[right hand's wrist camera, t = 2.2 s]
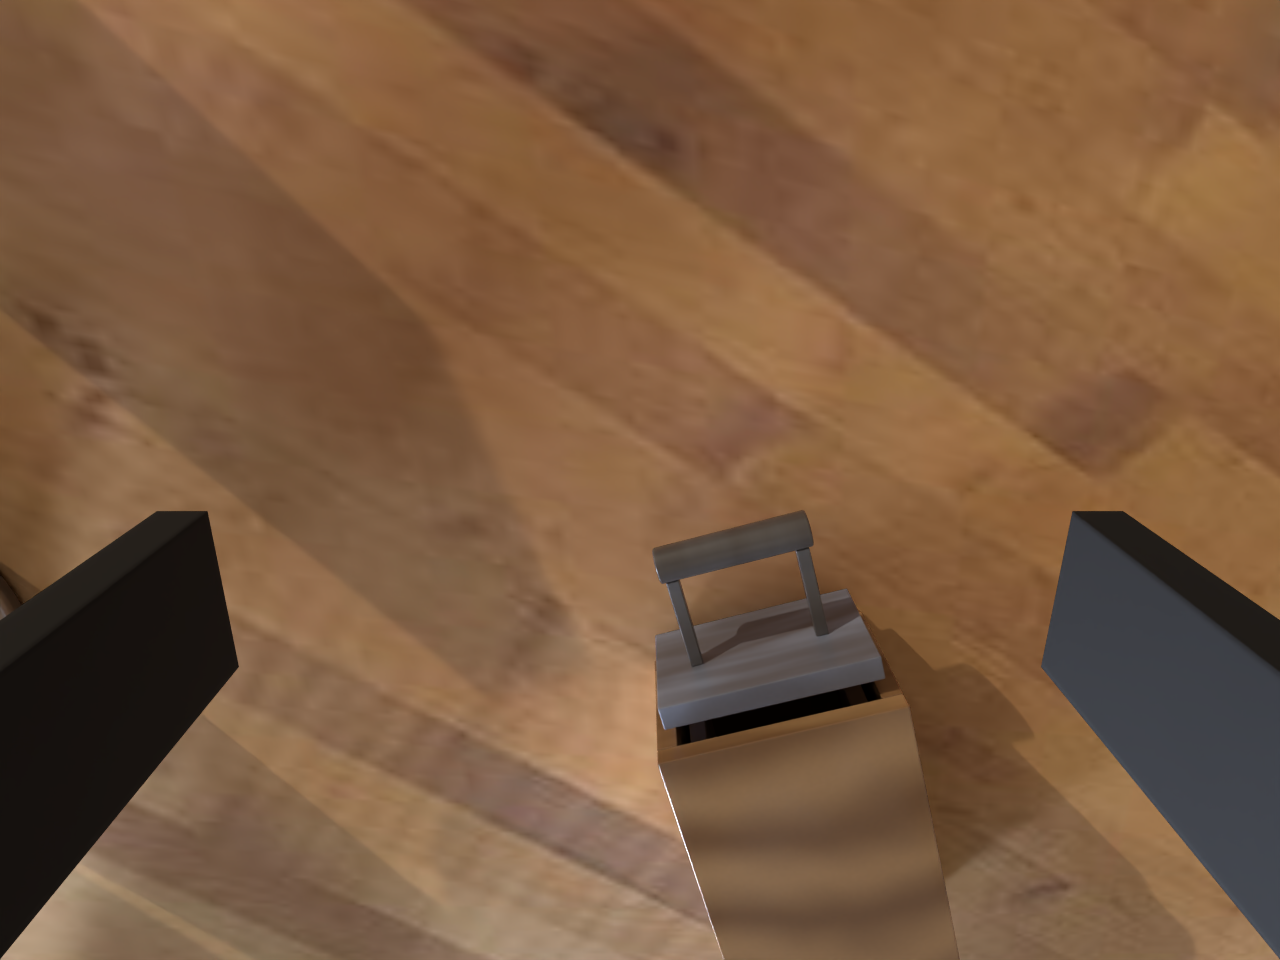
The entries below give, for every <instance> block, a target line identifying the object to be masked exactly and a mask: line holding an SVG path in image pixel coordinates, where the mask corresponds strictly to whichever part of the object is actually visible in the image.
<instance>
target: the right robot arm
mask: <svg viewBox="0 0 1280 960" xmlns="http://www.w3.org/2000/svg"><path fill="white" fill-rule="evenodd" d="M238 667H239V665H238V660H237V655H236V650H235V645H234V640H233V635H232V630H231V626H230V621H229V616H228V611H227V606H226V601H225V596H224V591H223V586H222V581H221V576H220V571H219V566H218V561H217V556H216V551H215V546H214V541H213V536H212V531H211V526H210V522H209V517H208V512H207V511H157V512H155V513H154V514H152V515H151V516H149V517H148V518H147V519H145V520H144V521H142V522H141V523H139V524H138V525H136V526H135V527H134V528H132V529H131V530H129V531H128V532H126V533H125V534H124V535H122V536H121V537H119V538H118V539H116V540H115V541H113V542H112V543H111V544H109V545H108V546H106V547H105V548H103V549H102V550H100V551H99V552H98V553H96V554H95V555H93V556H92V557H90V558H89V559H88V560H86V561H85V562H83V563H82V564H80V565H79V566H77V567H76V568H75V569H73V570H72V571H70V572H69V573H67V574H66V575H64V576H63V577H62V578H60V579H59V580H57V581H56V582H54V583H53V584H52V585H50V586H49V587H47V588H46V589H44V590H43V591H41V592H40V593H39V594H37V595H36V596H34V597H33V598H31V599H30V600H29V601H27V602H26V603H24V604H23V605H21V604H20V602H19V600H18V599H17V597H16V595H15V594H14V592H13V591H12V590H11V588H10V587H9V585H8V584H7V583H6V581H5V580H4V579H3V578H2V577H1V575H0V959H1V957H2V956H3V955H4V954H5V953H6V951H7V950H8V949H9V948H10V946H11V945H12V944H13V943H14V942H15V940H16V939H17V938H18V937H19V935H20V934H21V933H22V932H23V931H24V929H25V928H26V927H27V926H28V924H29V923H30V922H31V921H32V919H33V918H34V917H35V916H36V915H37V913H38V912H39V911H40V910H41V908H42V907H43V906H44V905H45V904H46V902H47V901H48V900H49V899H50V897H51V896H52V895H53V894H54V893H55V891H56V890H57V889H58V888H59V886H60V885H61V884H62V883H63V882H64V880H65V879H66V878H67V877H68V875H69V874H70V873H71V872H72V871H73V869H74V868H75V867H76V866H77V864H78V863H79V862H80V861H81V859H82V858H83V857H84V856H85V855H86V853H87V852H88V851H89V850H90V848H91V847H92V846H93V845H94V844H95V842H96V841H97V840H98V839H99V837H100V836H101V835H102V834H103V833H104V831H105V830H106V829H107V828H108V826H109V825H110V824H111V823H112V822H113V820H114V819H115V818H116V817H117V815H118V814H119V813H120V812H121V811H122V809H123V808H124V807H125V806H126V804H127V803H128V802H129V801H130V799H131V798H132V797H133V796H134V795H135V793H136V792H137V791H138V790H139V788H140V787H141V786H142V785H143V784H144V782H145V781H146V780H147V779H148V777H149V776H150V775H151V774H152V773H153V771H154V770H155V769H156V768H157V766H158V765H159V764H160V763H161V762H162V760H163V759H164V758H165V757H166V755H167V754H168V753H169V752H170V751H171V749H172V748H173V747H174V746H175V744H176V743H177V742H178V741H179V739H180V738H181V737H182V736H183V735H184V733H185V732H186V731H187V730H188V728H189V727H190V726H191V725H192V724H193V722H194V721H195V720H196V719H197V717H198V716H199V715H200V714H201V713H202V711H203V710H204V709H205V708H206V706H207V705H208V704H209V703H210V702H211V700H212V699H213V698H214V697H215V695H216V694H217V693H218V692H219V691H220V689H221V688H222V687H223V686H224V684H225V683H226V682H227V681H228V680H229V678H230V677H231V676H232V675H233V673H234V672H235V671H236V670H237V668H238ZM1041 667H1042V668H1043V670H1044V671H1045V672H1046V673H1047V675H1048V676H1049V677H1050V678H1051V680H1052V681H1053V682H1054V683H1055V684H1056V686H1057V687H1058V688H1059V689H1060V691H1061V692H1062V693H1063V694H1064V695H1065V697H1066V698H1067V699H1068V700H1069V702H1070V703H1071V704H1072V705H1073V706H1074V708H1075V709H1076V710H1077V711H1078V713H1079V714H1080V715H1081V716H1082V717H1083V719H1084V720H1085V721H1086V722H1087V724H1088V725H1089V726H1090V727H1091V728H1092V730H1093V731H1094V732H1095V733H1096V735H1097V736H1098V737H1099V738H1100V739H1101V741H1102V742H1103V743H1104V744H1105V746H1106V747H1107V748H1108V749H1109V751H1110V752H1111V753H1112V754H1113V755H1114V757H1115V758H1116V759H1117V760H1118V762H1119V763H1120V764H1121V765H1122V766H1123V768H1124V769H1125V770H1126V771H1127V773H1128V774H1129V775H1130V776H1131V777H1132V779H1133V780H1134V781H1135V782H1136V784H1137V785H1138V786H1139V787H1140V788H1141V790H1142V791H1143V792H1144V793H1145V795H1146V796H1147V797H1148V798H1149V799H1150V801H1151V802H1152V803H1153V804H1154V806H1155V807H1156V808H1157V809H1158V811H1159V812H1160V813H1161V814H1162V815H1163V817H1164V818H1165V819H1166V820H1167V822H1168V823H1169V824H1170V825H1171V826H1172V828H1173V829H1174V830H1175V831H1176V833H1177V834H1178V835H1179V836H1180V837H1181V839H1182V840H1183V841H1184V842H1185V844H1186V845H1187V846H1188V847H1189V848H1190V850H1191V851H1192V852H1193V853H1194V855H1195V856H1196V857H1197V858H1198V859H1199V861H1200V862H1201V863H1202V864H1203V866H1204V867H1205V868H1206V869H1207V871H1208V872H1209V873H1210V874H1211V875H1212V877H1213V878H1214V879H1215V880H1216V882H1217V883H1218V884H1219V885H1220V886H1221V888H1222V889H1223V890H1224V891H1225V893H1226V894H1227V895H1228V896H1229V897H1230V899H1231V900H1232V901H1233V902H1234V904H1235V905H1236V906H1237V907H1238V908H1239V910H1240V911H1241V912H1242V913H1243V915H1244V916H1245V917H1246V918H1247V919H1248V921H1249V922H1250V923H1251V924H1252V926H1253V927H1254V928H1255V929H1256V931H1257V932H1258V933H1259V934H1260V935H1261V937H1262V938H1263V939H1264V940H1265V942H1266V943H1267V944H1268V945H1269V946H1270V948H1271V949H1272V950H1273V951H1274V953H1275V954H1276V955H1277V956H1278V957H1279V959H1280V620H1279V619H1277V618H1276V617H1275V616H1273V615H1272V614H1270V613H1269V612H1267V611H1266V610H1264V609H1263V608H1262V607H1260V606H1259V605H1257V604H1256V603H1254V602H1253V601H1251V600H1250V599H1249V598H1247V597H1246V596H1244V595H1243V594H1241V593H1240V592H1239V591H1237V590H1236V589H1234V588H1233V587H1231V586H1230V585H1228V584H1227V583H1226V582H1224V581H1223V580H1221V579H1220V578H1218V577H1217V576H1216V575H1214V574H1213V573H1211V572H1210V571H1208V570H1207V569H1205V568H1204V567H1203V566H1201V565H1200V564H1198V563H1197V562H1195V561H1194V560H1192V559H1191V558H1190V557H1188V556H1187V555H1185V554H1184V553H1182V552H1181V551H1180V550H1178V549H1177V548H1175V547H1174V546H1172V545H1171V544H1169V543H1168V542H1167V541H1165V540H1164V539H1162V538H1161V537H1159V536H1158V535H1156V534H1155V533H1154V532H1152V531H1151V530H1149V529H1148V528H1146V527H1145V526H1144V525H1142V524H1141V523H1139V522H1138V521H1136V520H1135V519H1133V518H1132V517H1131V516H1129V515H1128V514H1126V513H1125V512H1123V511H1073V512H1072V517H1071V522H1070V526H1069V531H1068V536H1067V541H1066V546H1065V551H1064V556H1063V561H1062V566H1061V571H1060V576H1059V581H1058V586H1057V591H1056V596H1055V601H1054V606H1053V611H1052V616H1051V621H1050V626H1049V630H1048V635H1047V640H1046V645H1045V650H1044V655H1043V660H1042V665H1041Z"/></svg>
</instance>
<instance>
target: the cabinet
mask: <svg viewBox="0 0 1280 960" xmlns="http://www.w3.org/2000/svg"><path fill="white" fill-rule="evenodd" d="M859 614H860V616H861V618H862V620H863V622H864V624H865V626H866V628H867V630H868V632H869V634H870V636H871V638H872V640H873V642H874V644H875V646H876V647H877V649H878V651H879V653H880V655H881V658H882V663H883V668H884V673H885V679H882V680H878V681H873V682H869V683H865V684H861V686H862V689H863V691H864V693H865V695H866V698H867V700H868V702H866V703H862V704H858V705H853V706H849V707H845V708H840V709H836V710H832V711H827V712H823V713H819V714H814V715H810V716H806V717H801V718H797V719H792V720H788V721H784V722H779V723H775V724H771V725H766V726H762V727H758V728H753V729H749V730H745V731H740V732H736V733H732V734H727V735H723V736H719V737H714V738H710V739H706V740H701V741H697V742H693V743H691V740H690V729H689V725H684V726H680V727H676V728H672V729H667V730H665V729H664V727H663V724H662V721H661V718H660V715H659V712H658V699H657V669H656V661H655V691H656V725H657V751H658V752H657V756H658V767H659V770H660V773H661V776H662V779H663V782H664V785H665V788H666V791H667V794H668V796H669V799H670V802H671V805H672V808H673V811H674V814H675V817H676V820H677V823H678V826H679V829H680V832H681V835H682V838H683V841H684V844H685V847H686V850H687V853H688V856H689V859H690V862H691V865H692V868H693V871H694V874H695V877H696V880H697V883H698V886H699V889H700V892H701V895H702V898H703V901H704V903H705V906H706V909H707V912H708V915H709V918H710V921H711V924H712V927H713V930H714V933H715V936H716V939H717V942H718V945H719V948H720V951H721V954H722V957H723V960H960V958H959V953H958V948H957V943H956V938H955V933H954V928H953V923H952V918H951V913H950V908H949V903H948V898H947V893H946V888H945V882H944V877H943V872H942V867H941V862H940V857H939V852H938V847H937V842H936V837H935V832H934V827H933V822H932V817H931V812H930V807H929V802H928V796H927V791H926V786H925V781H924V776H923V771H922V766H921V761H920V756H919V751H918V746H917V741H916V736H915V731H914V726H913V721H912V716H911V710H910V706H909V704H908V702H907V700H906V698H905V696H904V695H903V692H902V690H901V688H900V686H899V684H898V682H897V681H896V679H895V677H894V675H893V673H892V671H891V669H890V667H889V665H888V663H887V661H886V659H885V657H884V655H883V653H882V651H881V649H880V647H879V645H878V643H877V641H876V639H875V637H874V635H873V633H872V631H871V629H870V627H869V625H868V624H867V622H866V620H865V618H864V616H863V614H862V612H859Z"/></svg>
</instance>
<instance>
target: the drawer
mask: <svg viewBox="0 0 1280 960" xmlns="http://www.w3.org/2000/svg"><path fill="white" fill-rule="evenodd" d="M813 544H814V542H813V536H812V532H811V528H810V524H809V521H808V518H807V515H806V513H805V511H804V510H801V511H797V512H793V513H789V514H785V515H781V516H777V517H773V518H769V519H765V520H762V521H758V522H754V523H750V524H746V525H742V526H738V527H734V528H730V529H726V530H722V531H718V532H715V533H711V534H707V535H703V536H699V537H695V538H691V539H687V540H683V541H679V542H675V543H671V544H668V545H664V546H660V547H656V548H653V551H652V552H653V559H654V564H655V568H656V571H657V575H658V578H659V580H660V582H661V583H662V584H664V583H666V585H667V588H668V591H669V595H670V598H671V601H672V605H673V608H674V611H675V614H676V618H677V621H678V624H679V628H680V629H679V630H675V631H671V632H667V633H663V634H658V635H656V636H655V639H656V669H657V699H658V712H659V715H660V718H661V721H662V724H663V727H664V729H665V730H667V729H672V728H676V727H680V726H684V725H689V729H690V740H691V743H693V742H697V741H701V740H706V739H710V738H714V737H719V736H723V735H727V734H732V733H736V732H740V731H745V730H749V729H753V728H758V727H762V726H766V725H771V724H775V723H779V722H784V721H788V720H792V719H797V718H801V717H806V716H810V715H814V714H819V713H823V712H827V711H832V710H836V709H840V708H845V707H849V706H853V705H858V704H862V703H866V702H868V700H867V698H866V695H865V693H864V691H863V689H862V686H861V684H865V683H869V682H873V681H878V680H882V679H885V673H884V668H883V663H882V658H881V655H880V653H879V651H878V649H877V647H876V646H875V644H874V642H873V640H872V638H871V636H870V634H869V632H868V630H867V628H866V626H865V624H864V622H863V620H862V618H861V616H860V614H859V612H858V610H857V608H856V606H855V604H854V602H853V600H852V598H851V596H850V594H849V592H848V590H847V589H842V590H838V591H834V592H830V593H826V594H822V595H820V592H819V588H818V583H817V579H816V575H815V570H814V566H813V562H812V557H811V553H810V549H809V547H812V546H813ZM792 551H795V552H796V556H797V560H798V565H799V569H800V573H801V577H802V582H803V586H804V590H805V594H806V599H801V600H797V601H793V602H789V603H785V604H781V605H777V606H773V607H769V608H765V609H761V610H757V611H752V612H748V613H744V614H740V615H736V616H732V617H728V618H724V619H720V620H716V621H712V622H707V623H703V624H699V625H695V626H693V623H692V620H691V616H690V613H689V609H688V606H687V603H686V599H685V596H684V593H683V589H682V586H681V582H680V579H684V578H688V577H692V576H696V575H700V574H704V573H708V572H712V571H716V570H720V569H724V568H728V567H732V566H736V565H740V564H744V563H748V562H752V561H756V560H760V559H764V558H768V557H772V556H776V555H780V554H784V553H788V552H792Z"/></svg>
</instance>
